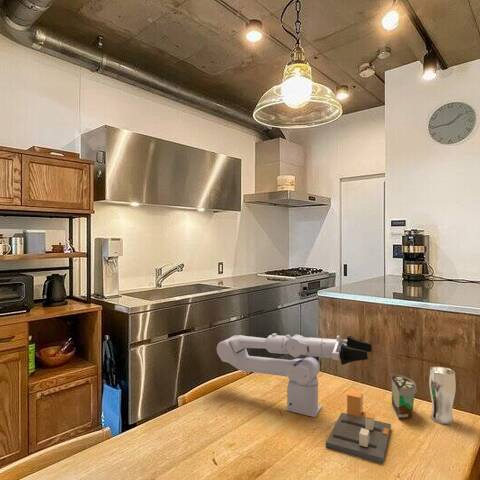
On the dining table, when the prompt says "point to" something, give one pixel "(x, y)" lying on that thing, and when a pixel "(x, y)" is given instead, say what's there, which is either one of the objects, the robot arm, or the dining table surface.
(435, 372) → the beer glass
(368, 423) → the block
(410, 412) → the food container
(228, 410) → the dining table surface
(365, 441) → the block
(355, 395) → the block
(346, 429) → the panel
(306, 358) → the robot arm
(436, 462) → the dining table surface
